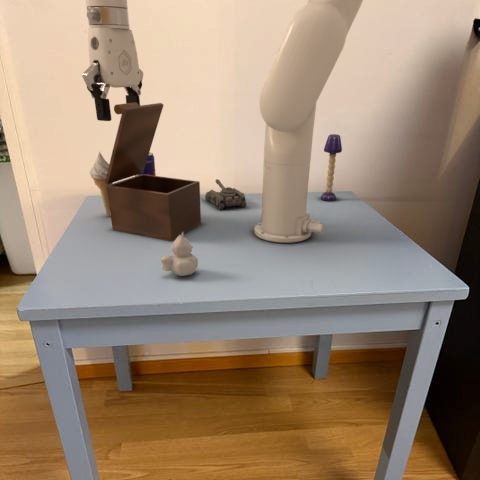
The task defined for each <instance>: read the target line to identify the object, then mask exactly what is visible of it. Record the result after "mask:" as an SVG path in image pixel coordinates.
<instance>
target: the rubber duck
mask: <svg viewBox="0 0 480 480" xmlns="http://www.w3.org/2000/svg"><path fill="white" fill-rule="evenodd" d="M193 249H194V246H193V245H192V244H191V243H190V242H189V240H188V238H186V237H185V234H184V233H183V232H182V234H181V235H179V236H178V237H177V238H176V239H174V240H173V243H172V245H171V252H172V254H171V255H170V254H165V255H162V256H161V257H160V262H161V263H162V270H163V271H164V272H170V271H171V272H172V273H173V274H175V275H176V276H178V277H179V276H180V277H187V276H190V275H192V274H194V272H195V271H196V270H197V268H198V265H199V258H198V257H197V256H195V255H194V254H193V253H192V252H193V251H192V250H193Z"/></svg>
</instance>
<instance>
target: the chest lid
mask: <svg viewBox="0 0 480 480" xmlns="http://www.w3.org/2000/svg"><path fill="white" fill-rule="evenodd" d="M163 108H164V104H163V103H162V102H157V103H149V104H142V105H141V104H140V106H139V105H138V104H137V103H136V102H134V103H126V102H125V103H119V104H115V105H114V106H113V111H114V113H115V114H116V115H120V120H119V123H118V128H117V132H116V135H115V140H114V144H113V148H112V152H111V156H110V160H109V163H108V164H109V168H108V172H107V176H106V180H105V183H106V184H110V183H116V182H120V181H123V180H126V179H129V178H132V177H135V175H138V174H141V173H143V171H144V168H145V165H146V162H147V158H148V155H149V152H150V151H151V148H152V145H153V142H154V138H155V135H156V131H157V128H158V125H159V122H160V118H161V115H162V111H163ZM150 153H151V152H150Z"/></svg>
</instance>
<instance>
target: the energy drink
mask: <svg viewBox="0 0 480 480" xmlns="http://www.w3.org/2000/svg"><path fill="white" fill-rule="evenodd" d="M141 174H145V175H153V176H157V175H156V162H155V156H154V153H153V152H149V155H148V158H147V162H146V165H145V168H144V171H143V173H141ZM141 174H138V175H141ZM138 175H135V176H138ZM135 176H134V177H135Z"/></svg>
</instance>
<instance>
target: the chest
mask: <svg viewBox="0 0 480 480" xmlns="http://www.w3.org/2000/svg"><path fill="white" fill-rule="evenodd" d="M200 185H201V183H200V181H198V180H190V179H184V178H183V179H182V178H176V177H168V176H159V175H156V176H153V175H145V174H141V175H138V176H132V177H129V178H126V179H122V180H119V181H116V182H113V184H110V185H107V193H108V200H109V207H110V221H111V230H113V231H117V232H120V233H121V232H123V233H126V234H132V235H137V236H143V237H147V238H152V239H159V240H163V241H168V242H172V241H175V240H176V238H177V237H178V236H179V235H181V234H182V232H183V233H184V235H185V234H187V233H189V232H190V231H192V230H194V229H195V228H197V227H199V226H201V225H202V215H201V212H202V211H201V186H200Z"/></svg>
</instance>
